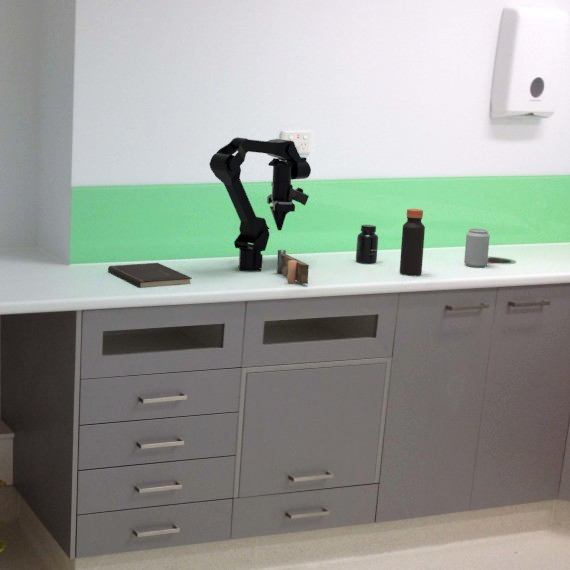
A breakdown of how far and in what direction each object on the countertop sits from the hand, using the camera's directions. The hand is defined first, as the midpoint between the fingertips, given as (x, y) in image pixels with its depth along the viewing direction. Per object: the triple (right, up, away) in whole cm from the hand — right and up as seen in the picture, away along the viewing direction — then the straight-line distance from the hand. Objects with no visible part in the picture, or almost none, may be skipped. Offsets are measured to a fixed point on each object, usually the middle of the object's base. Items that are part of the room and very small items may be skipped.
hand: (279, 230), depth 334 cm
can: (+64, -11, +16) cm, 67 cm away
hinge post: (0, -14, -10) cm, 17 cm away
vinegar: (+41, -14, -2) cm, 43 cm away
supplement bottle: (+28, -10, +14) cm, 33 cm away
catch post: (+4, -16, -23) cm, 29 cm away
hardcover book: (-38, -16, -25) cm, 48 cm away
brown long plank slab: (+4, -15, -19) cm, 25 cm away
